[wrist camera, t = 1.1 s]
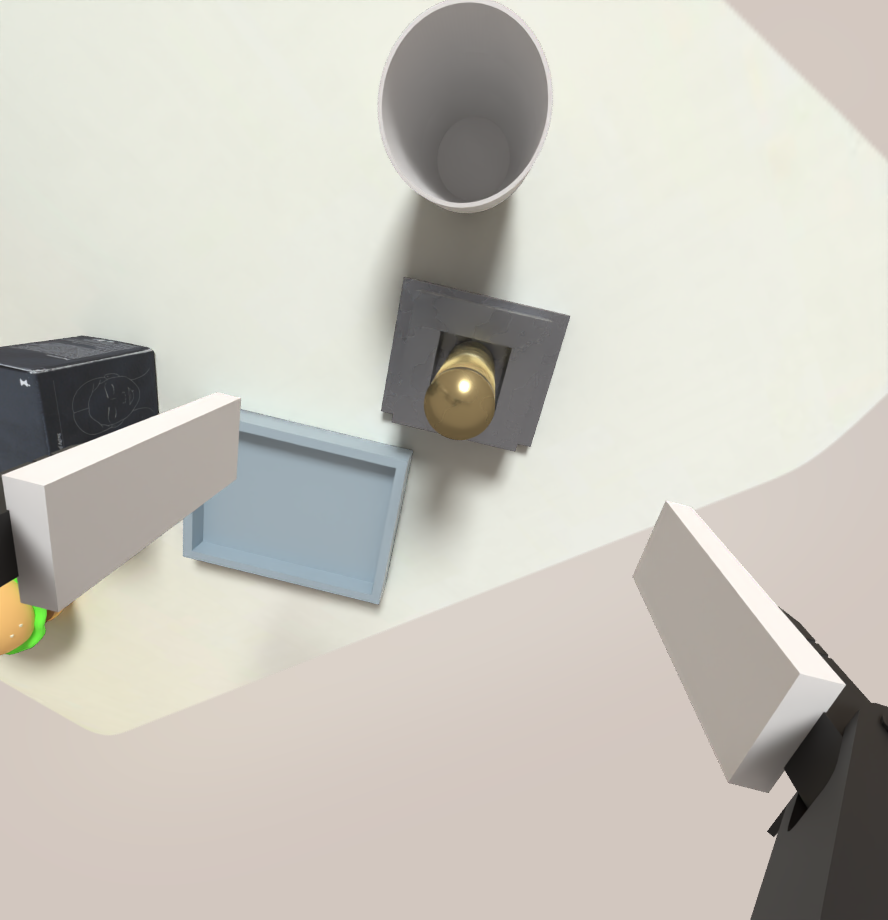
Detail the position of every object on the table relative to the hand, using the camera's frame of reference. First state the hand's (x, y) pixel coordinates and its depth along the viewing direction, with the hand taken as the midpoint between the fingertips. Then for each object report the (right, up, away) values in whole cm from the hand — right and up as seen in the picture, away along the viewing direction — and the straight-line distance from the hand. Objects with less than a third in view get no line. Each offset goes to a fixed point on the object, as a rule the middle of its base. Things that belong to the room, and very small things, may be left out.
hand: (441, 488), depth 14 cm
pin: (+2, +8, +20) cm, 22 cm away
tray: (-13, -3, +27) cm, 30 cm away
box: (-27, +6, +26) cm, 38 cm away
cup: (+2, +21, +17) cm, 27 cm away
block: (+2, +8, +21) cm, 23 cm away
